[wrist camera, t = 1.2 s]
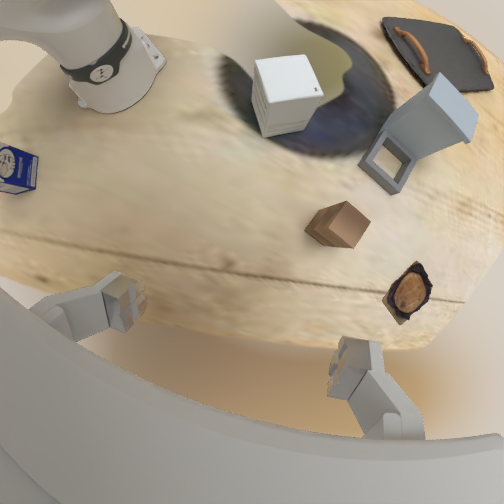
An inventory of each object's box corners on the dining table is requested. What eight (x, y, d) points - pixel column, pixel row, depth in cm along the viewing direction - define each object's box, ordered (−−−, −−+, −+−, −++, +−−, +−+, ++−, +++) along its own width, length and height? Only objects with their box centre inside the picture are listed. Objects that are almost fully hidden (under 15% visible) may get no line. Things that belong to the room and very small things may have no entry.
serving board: (454, 30, 42) (464, 22, 36) (493, 92, 44) (506, 86, 37) (367, 22, 41) (377, 7, 35) (421, 100, 43) (436, 88, 37)
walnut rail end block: (323, 245, 43) (353, 248, 31) (304, 230, 43) (328, 227, 31) (337, 225, 43) (371, 221, 31) (318, 210, 42) (346, 200, 30)
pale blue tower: (392, 196, 43) (457, 180, 26) (355, 163, 42) (410, 129, 25) (421, 142, 43) (478, 114, 26) (389, 112, 42) (439, 71, 25)
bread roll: (398, 327, 45) (408, 333, 41) (377, 296, 44) (387, 301, 41) (433, 288, 45) (444, 291, 41) (414, 256, 44) (426, 257, 40)
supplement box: (291, 94, 41) (307, 53, 29) (304, 131, 42) (326, 96, 29) (250, 101, 41) (253, 58, 28) (261, 139, 42) (269, 103, 29)
